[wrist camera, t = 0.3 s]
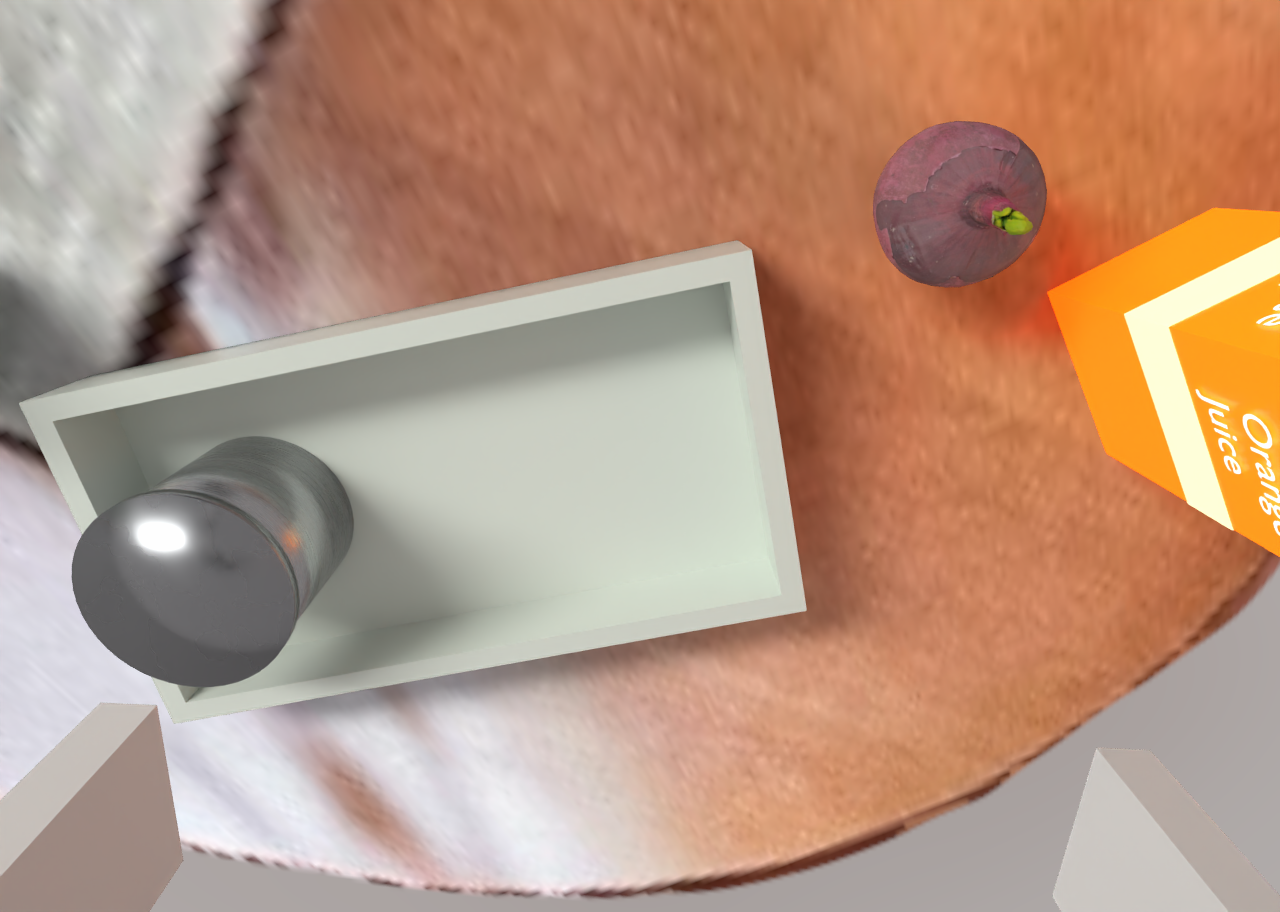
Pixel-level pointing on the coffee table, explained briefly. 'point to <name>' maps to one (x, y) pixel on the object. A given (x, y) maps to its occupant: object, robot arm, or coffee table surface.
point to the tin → (214, 562)
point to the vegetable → (959, 203)
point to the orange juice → (1189, 363)
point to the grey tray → (485, 470)
